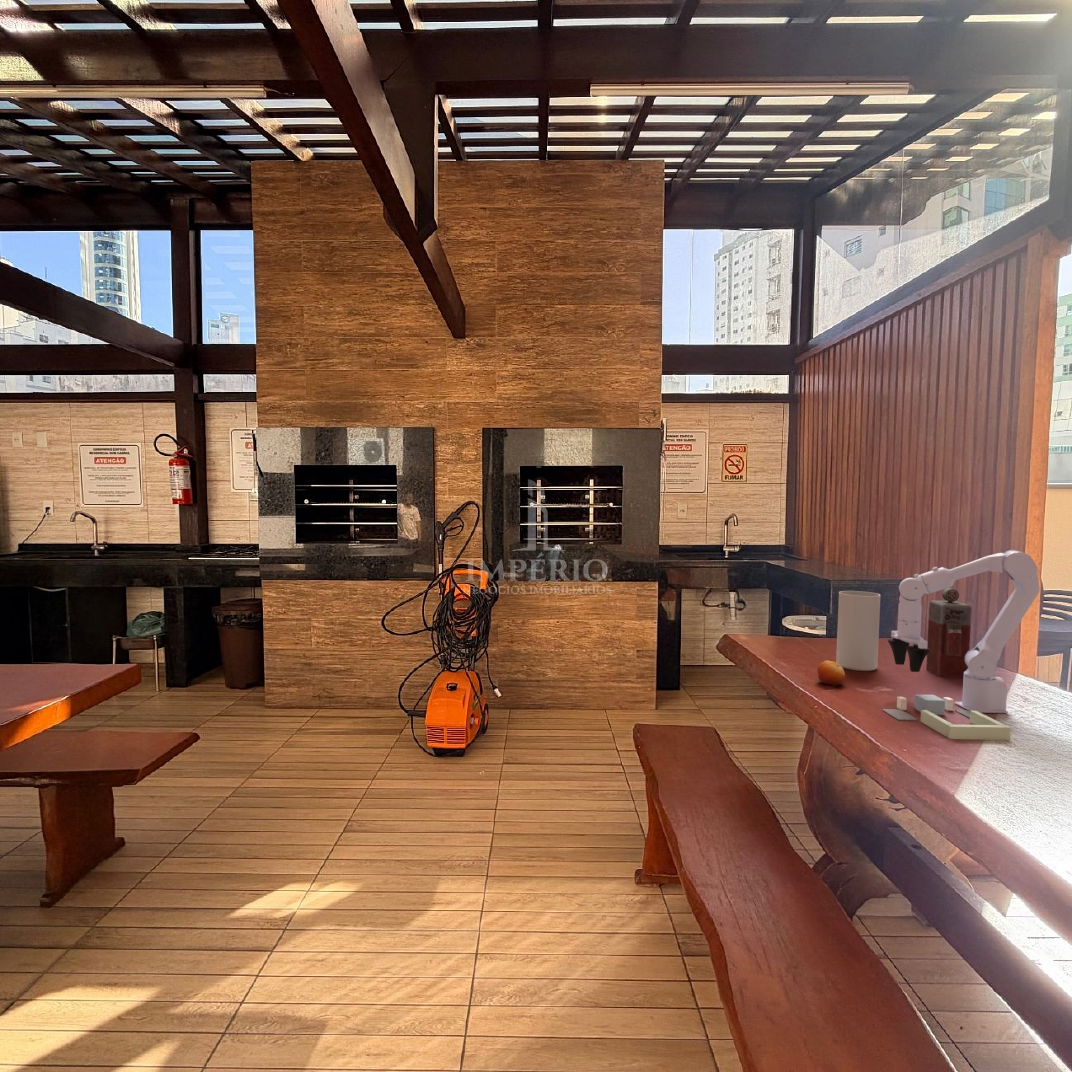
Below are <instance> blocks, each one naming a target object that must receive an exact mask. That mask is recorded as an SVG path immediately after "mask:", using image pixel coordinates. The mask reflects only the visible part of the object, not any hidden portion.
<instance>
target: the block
mask: <svg viewBox="0 0 1072 1072" xmlns="http://www.w3.org/2000/svg"><path fill="white" fill-rule="evenodd" d="M913 708H914V709H915V710H916V711H918V712H920V713H921V710H928V711H930V712H931V713H933V714H935V715H937V716H945V700H943V698H941V697H939V696H937V695H935V694H914V707H913Z"/></svg>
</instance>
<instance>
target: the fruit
mask: <svg viewBox="0 0 1072 1072" xmlns="http://www.w3.org/2000/svg"><path fill="white" fill-rule="evenodd" d="M844 669H845V668H843V667H841V666H840V665H839V664H837V663H836V661H831V660H827V659H825V660H824V661H822V662H820V663H819V665H818V667H817V670H816V671H817V677H818V681H817V684H818V683H824V684H826V685H830V686H833V687H836V686H839V685H840V684H842V683H843V682H844V681H845V679H846V673H845V670H844Z"/></svg>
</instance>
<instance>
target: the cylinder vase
mask: <svg viewBox="0 0 1072 1072" xmlns="http://www.w3.org/2000/svg"><path fill="white" fill-rule="evenodd" d="M837 608H838V610H837V611H838V612H837V633H836V634H837V635H836V654H835V655H836V656H835V657H836V658H835V659H836V660H835V662H836V663H837V664H839V665H840V666H841V667H842V668H843V669H846V670H852V671H857V672H858V671H860V672H872V671H875V670H877V668H878V659H879V642H880V641H879V636H880V635H879V634H880V616H881V615H880V614H881V613H880V612H881V594H880V593H876V592H870V591H862V590H860V591H858V590H841V591H839V592H838V607H837Z"/></svg>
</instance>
